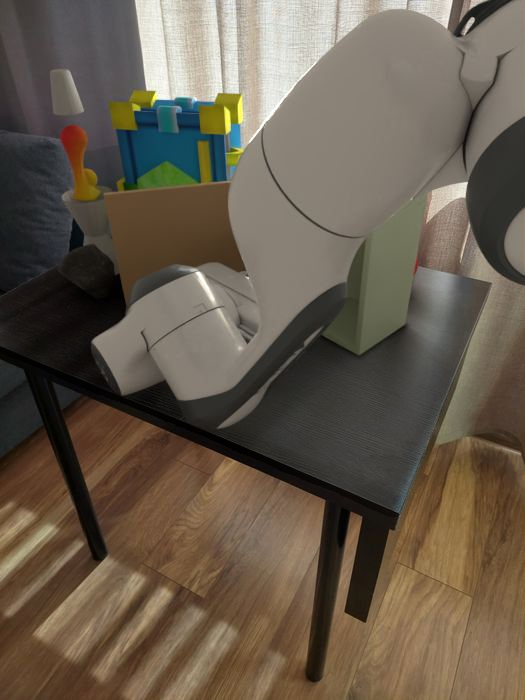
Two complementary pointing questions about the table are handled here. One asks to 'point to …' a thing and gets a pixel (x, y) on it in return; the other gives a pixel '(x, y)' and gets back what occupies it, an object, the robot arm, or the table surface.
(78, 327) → the table surface
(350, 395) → the table surface
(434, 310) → the table surface
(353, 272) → the cupboard
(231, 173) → the blue toy chest
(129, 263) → the cupboard door
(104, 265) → the stone
